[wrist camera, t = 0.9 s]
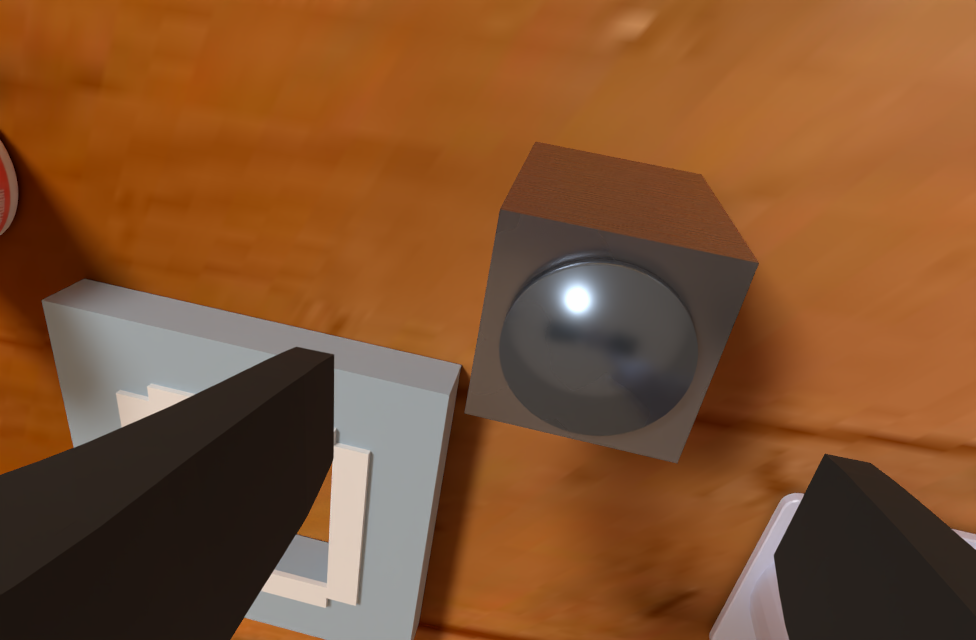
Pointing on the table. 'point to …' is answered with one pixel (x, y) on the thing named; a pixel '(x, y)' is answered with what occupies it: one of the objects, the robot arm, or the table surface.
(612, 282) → the lens block
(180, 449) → the robot arm
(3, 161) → the pill bottle
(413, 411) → the mount plate
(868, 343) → the table surface
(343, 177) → the table surface
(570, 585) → the table surface
